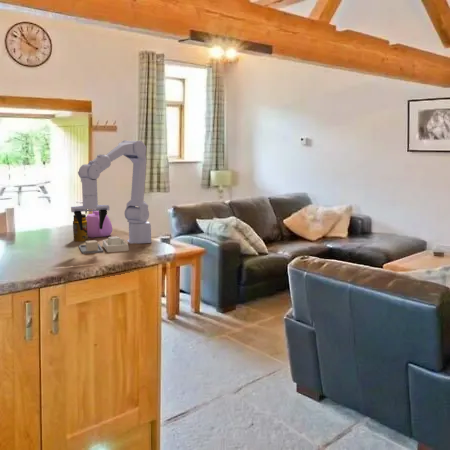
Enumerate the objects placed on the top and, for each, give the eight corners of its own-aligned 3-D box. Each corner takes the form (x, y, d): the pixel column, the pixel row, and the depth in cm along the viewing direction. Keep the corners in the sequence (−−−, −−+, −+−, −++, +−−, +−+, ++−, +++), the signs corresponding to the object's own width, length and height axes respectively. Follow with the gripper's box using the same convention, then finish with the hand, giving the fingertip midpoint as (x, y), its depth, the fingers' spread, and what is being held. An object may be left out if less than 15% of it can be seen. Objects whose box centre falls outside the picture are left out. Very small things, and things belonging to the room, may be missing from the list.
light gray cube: (117, 245, 217) (117, 236, 216) (120, 247, 214) (120, 237, 213) (108, 246, 215) (108, 237, 215) (111, 248, 212) (110, 238, 211)
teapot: (115, 238, 235) (115, 212, 233) (85, 240, 230) (84, 214, 228) (107, 231, 253) (107, 207, 251) (80, 232, 248) (78, 208, 246)
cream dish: (123, 245, 220) (122, 238, 219) (128, 251, 208) (128, 244, 208) (102, 247, 217) (102, 240, 216) (107, 253, 205) (107, 246, 205)
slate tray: (99, 246, 217) (98, 243, 217) (103, 253, 205) (103, 250, 205) (78, 248, 214) (78, 245, 214) (82, 254, 202) (82, 251, 202)
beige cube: (95, 249, 209) (95, 240, 208) (98, 251, 206) (97, 241, 205) (85, 250, 207) (85, 240, 207) (87, 252, 204) (87, 242, 203)
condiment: (90, 242, 227) (89, 215, 225) (71, 244, 222) (70, 216, 220) (85, 239, 233) (84, 213, 231) (66, 241, 228) (65, 214, 226)
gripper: (106, 193, 209) (107, 226, 212) (69, 194, 203) (70, 228, 206) (110, 195, 203) (111, 229, 205) (72, 196, 197) (73, 231, 199)
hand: (91, 229), depth 205 cm, fingers open, 7 cm apart
